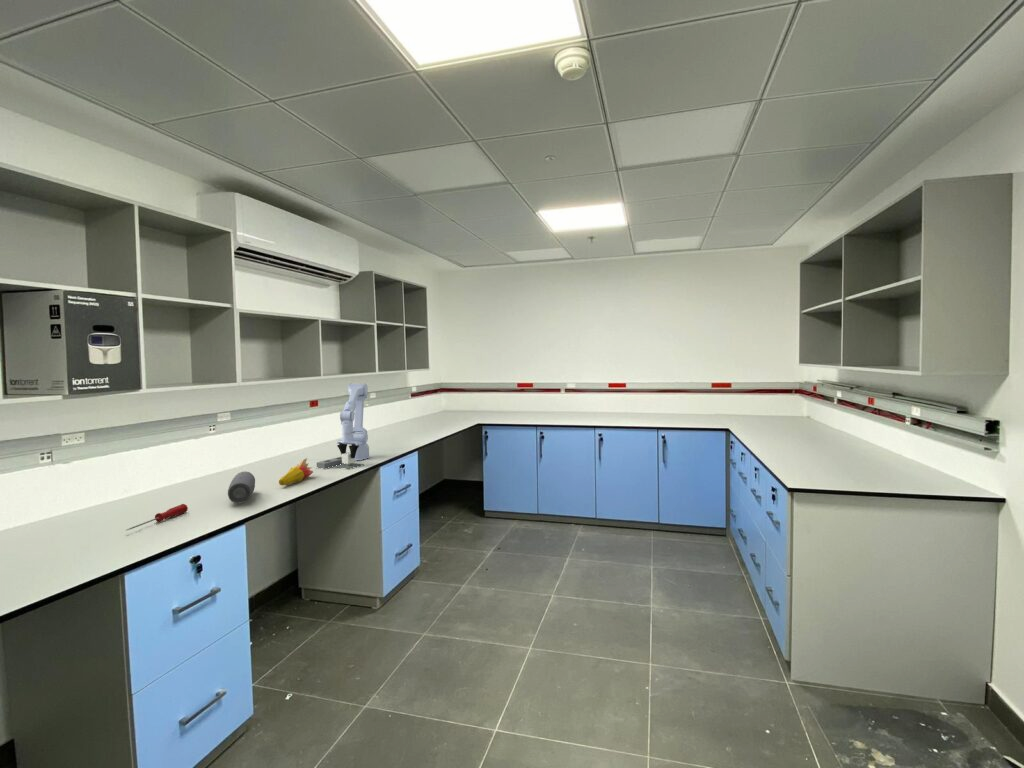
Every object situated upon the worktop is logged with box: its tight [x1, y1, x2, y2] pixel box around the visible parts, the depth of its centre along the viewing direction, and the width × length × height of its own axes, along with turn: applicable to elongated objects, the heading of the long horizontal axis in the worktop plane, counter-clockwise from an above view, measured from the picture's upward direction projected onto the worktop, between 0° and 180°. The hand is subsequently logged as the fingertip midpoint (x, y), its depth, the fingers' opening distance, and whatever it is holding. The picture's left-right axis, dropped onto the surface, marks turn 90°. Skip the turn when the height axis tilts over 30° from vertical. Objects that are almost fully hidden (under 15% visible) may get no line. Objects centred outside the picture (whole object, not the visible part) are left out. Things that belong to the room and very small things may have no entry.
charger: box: [341, 451, 356, 466], centre depth 268 cm, size 5×4×6 cm
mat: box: [332, 462, 364, 470], centre depth 268 cm, size 11×11×1 cm
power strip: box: [316, 455, 344, 469], centre depth 272 cm, size 18×6×4 cm, turn 154°
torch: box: [278, 457, 314, 486], centre depth 235 cm, size 8×8×25 cm
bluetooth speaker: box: [227, 470, 256, 504], centre depth 206 cm, size 23×9×10 cm, turn 24°
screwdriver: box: [126, 503, 189, 531], centre depth 177 cm, size 4×25×4 cm, turn 173°
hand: (348, 457), depth 268 cm, fingers open, 6 cm apart
